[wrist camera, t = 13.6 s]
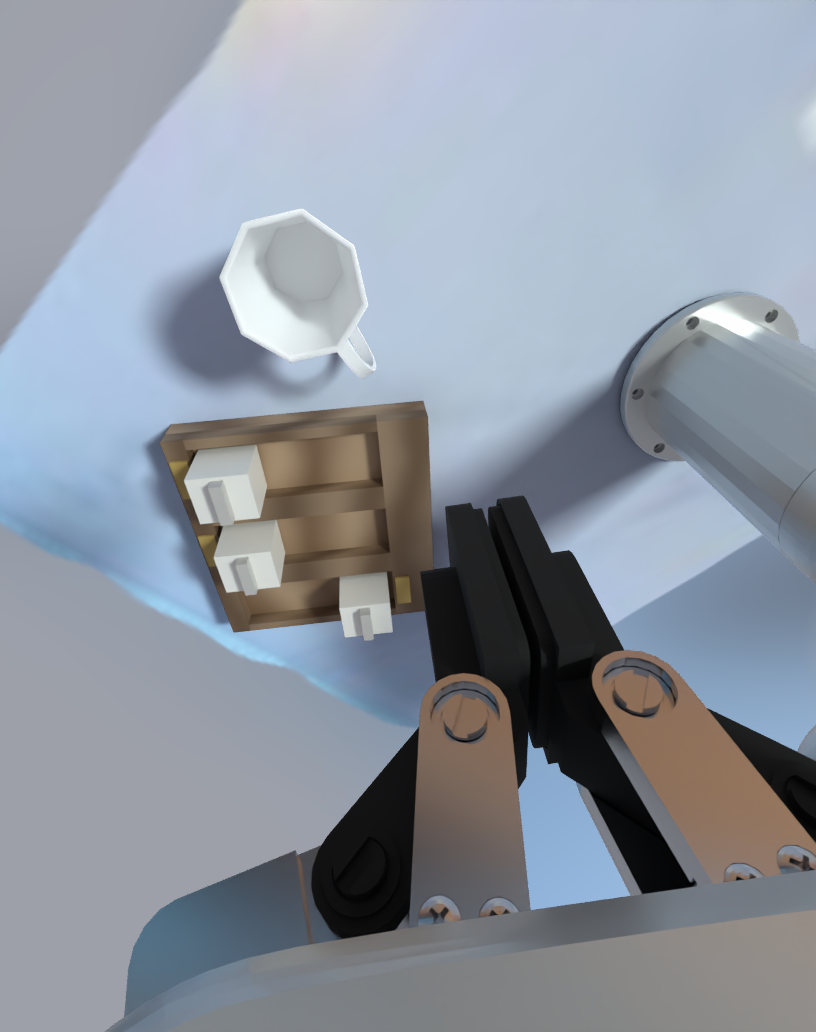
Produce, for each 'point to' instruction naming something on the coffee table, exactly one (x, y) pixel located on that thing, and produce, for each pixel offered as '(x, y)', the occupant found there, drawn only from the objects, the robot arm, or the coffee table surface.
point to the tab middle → (250, 556)
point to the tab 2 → (365, 605)
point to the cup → (298, 289)
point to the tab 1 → (226, 484)
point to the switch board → (325, 505)
